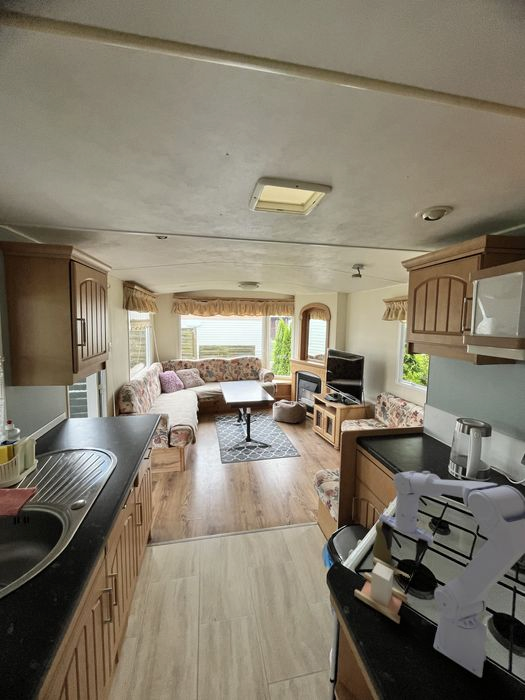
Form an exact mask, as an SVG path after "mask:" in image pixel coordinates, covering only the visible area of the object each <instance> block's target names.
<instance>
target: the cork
mask: <svg viewBox="0 0 525 700" xmlns="http://www.w3.org/2000/svg"><path fill="white" fill-rule="evenodd" d="M381 527H382V524H381V523H379V521H378V522H376V523H375V531H376V535H375V539H374V544H373V548H372V555H373V557H375V558H377V559H379V560H381V561H383V562H385V563H387V562H390V561H391V560H392V548H391V549H390V550H388V549H387V543H386V539H385V536H384V534H383V532H382V530H381Z"/></svg>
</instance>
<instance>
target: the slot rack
mask: <svg viewBox="0 0 525 700" xmlns="http://www.w3.org/2000/svg"><path fill="white" fill-rule="evenodd" d="M372 559H373V561H372V563H373V564H375V565H376V564H377V562H378V563H380V564H382V565H384V566H386V567H388V568H390V569H392V570H394V572H393V575H395V576H397V575H396V574H398V573H399V574H402V575H403V576H405V577H407V578H410V576H411V575H410V574H407V573H406V572H404V571H402V570H400V569H398V568H396V567H394V566H392V565H391V564H389V563H387V562H385V561H381V560H379V559H377V558H376V557H375V556H373V558H372ZM409 575H410V576H409ZM363 578H364V579H365V580H366V581H365V583H364V586H363V587H362V589H361V591H360V590H358V589H355V590H354V596H353V597H356V598H358V599H359V600H360V601H362V602H364V603H365V604H367V605H368V606H370V607H372V608H373V609H375V610H376V611H378V612H379V613H381V614H383V615H384V616H386V617H388V618H389V619H391V621H393V622H395V623H397V624H398V625H399V624H400V621H401V616H400V615H398V614H399V612H400V609H401V606H402V603H403V602H405V603H407V602H408V598H409V596H408V594H406V593H403V592H402V591H400V590H398V589H397V588H395V587H393V586H392V596H391V599H390V601H389V603H388V606H387V608H386V607H385V606H383V605H381V604H380V603H378V602H377V601H375V600H373V599H372V598H370V594H371V580H372V574H370V573H368V572H366V571H365V572H364V577H363Z"/></svg>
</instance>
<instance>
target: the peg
mask: <svg viewBox="0 0 525 700" xmlns="http://www.w3.org/2000/svg"><path fill="white" fill-rule="evenodd" d="M393 572H394V570H392V569H390V568H388V567H386V566H384V565H382V564H380V563H378V562H377V564H375V566H374V568H373V569H372V571H371V575H372V580H371V594H370V598H372V599H373V600H375V601H377V602H378V603H380V604H381V605H383V606H385V607H386V608H387V606H388V603H389V601H390V599H391V596H392V595H393V594H392V587H393V583H394V581H393V580H394V574H393Z"/></svg>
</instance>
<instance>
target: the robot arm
mask: <svg viewBox="0 0 525 700" xmlns="http://www.w3.org/2000/svg"><path fill="white" fill-rule="evenodd" d="M393 485H394V488H395V489H396V501H395V502H396V503H395V515H394V517H393V516H390V515H386V514H383V513H381V514H380V515H379V517H378V522H379V523H381V524H382V527H381V530H382V532H383V534H384V536H385V539H386V543H387V549H388V550H390V549H391V550H392V546H393V534H394V533H393V532H394V530H396V531H397V532H399V533H401V534H402V535H405V536H409V537H414V538H416V539H417V540H416V543H415V558H414V564H417V565H418V564H419V561H420V557H421V555H422V554H423V553H424V552H425V551H426V550H427V548H428V546H431V547H432V546H433V543H434V535H432V534H431V533H429V532H426V531H425V530H424V529H422V528H420V527H419V526H417V524H418V511H419V510H418V509H419V502H420V501H419V500H420V498H421V497H422V496H425V497H430V498H431V497H432V498H439V497H441V496H442V495H446V496H453V497H458V498H462V499H463V504H464V507H466V508H469V510H470V512H471V514H472V515H473V517H474V519H475V521H476V523H477V525H478V526H479V527H480V530H481V531H482V533H483V534H484V537H485V538H486V539H487V540H486V542H485V543H484V544H483V545H482V547H481V548H480V549H479V550H478V552H477V553H476V554H475V556H473V558H472V559H471V560H470V562H469V563H467V565H466V566H465V567H464V568H463V570H462V571H461V572H460V574H459V575H458V576H457V577H456V578H455V579H452V580H451V581H449V582H447V583H446V584H445V585H443V586H438V587H436V588H435V590H434V593H433V596H434V602H435V603H436V606H437V608H438V610H439V611H440V612H439V621H438V623H437V630H436V632H435V637H434V640H433V641H434V642H433V648H434V649H435V651H438V652H439V653H441V654H442V655H444V656H446V657H447V658H448V659H450V660H452V661H453V662H455V663H456V664H458V665H460V666H461V667H463V668H464V669H466V670H467V671H469V672H470V673H472V674H474V675H475V676H477V677H479V678H483V672H484V671H483V670H484V663H485V662H486V658H487V651H486V645H487V644H486V641H487V630H488V626H487V625H486V624H485V623H483V622H482V621H480V620H479V616H480V614H482V613H484V612H485V611H486V610H487V609H486V608H487V601H488V600H489V598H490V596H489V594H488V593H489V592H490V590H492V589H493V587H494V586H495V585H497V583H499V581H500V580H501V579H502V578H503V577H504V576H505V574H506V573H508V571H509V570H510V569H511V568H512V567H513V566H514V565H515V564H516V563H517V562H518V561H519V560H520V559H521V558H522V556H524V554H525V496H524V494H523V493H522V492H521V491H519V490H518V489H517V488H515V487H513V486H510V485H506V484H503V485H500V486H498V485H499V484H498V483H495V482H485V481H477V480H459V479H458V480H456V479H441V478H440V477H439V476H438V475H437V474H435V473H431V471H430V470H424V471H421V472H417V471H416V470H410V471H409V470H408V471H403V472H397V473H395V474H394V476H393ZM496 486H497V487H496Z"/></svg>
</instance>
